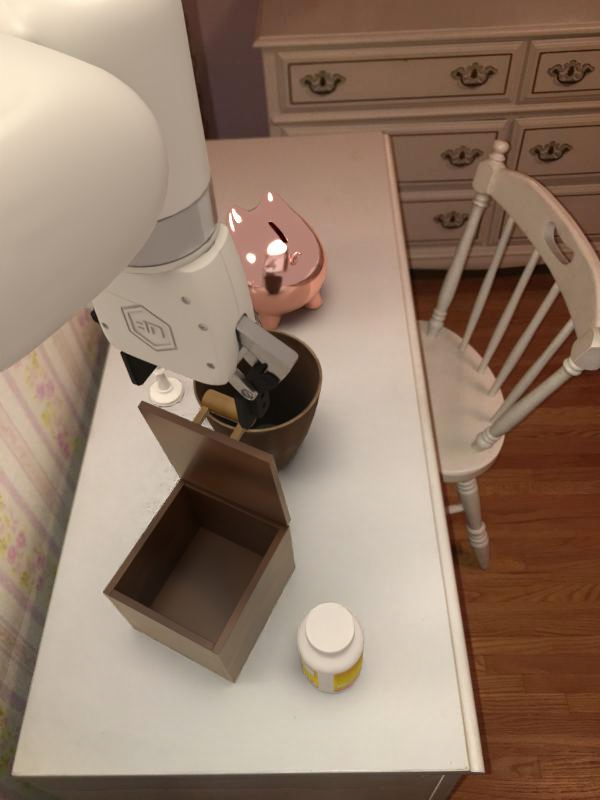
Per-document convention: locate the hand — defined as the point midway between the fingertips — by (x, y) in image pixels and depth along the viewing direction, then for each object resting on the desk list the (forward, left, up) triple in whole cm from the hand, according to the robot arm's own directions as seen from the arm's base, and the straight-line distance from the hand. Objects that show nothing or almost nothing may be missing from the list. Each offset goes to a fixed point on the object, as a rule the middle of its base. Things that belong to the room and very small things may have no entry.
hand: (199, 393), depth 50 cm
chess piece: (+17, +23, -35) cm, 45 cm away
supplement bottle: (-6, -14, -35) cm, 38 cm away
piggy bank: (+41, +18, -35) cm, 57 cm away
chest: (-5, +1, -35) cm, 35 cm away
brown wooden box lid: (+1, +1, -15) cm, 15 cm away
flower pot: (+15, +5, -35) cm, 38 cm away
